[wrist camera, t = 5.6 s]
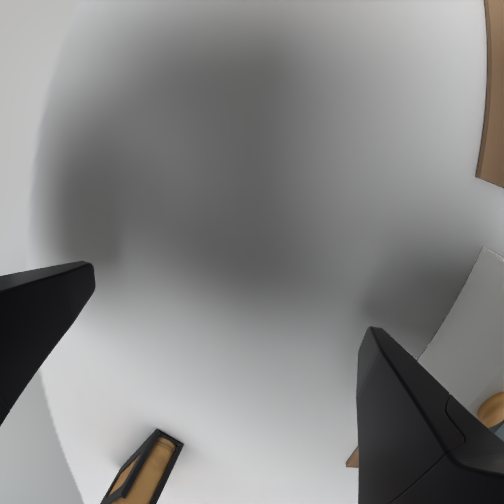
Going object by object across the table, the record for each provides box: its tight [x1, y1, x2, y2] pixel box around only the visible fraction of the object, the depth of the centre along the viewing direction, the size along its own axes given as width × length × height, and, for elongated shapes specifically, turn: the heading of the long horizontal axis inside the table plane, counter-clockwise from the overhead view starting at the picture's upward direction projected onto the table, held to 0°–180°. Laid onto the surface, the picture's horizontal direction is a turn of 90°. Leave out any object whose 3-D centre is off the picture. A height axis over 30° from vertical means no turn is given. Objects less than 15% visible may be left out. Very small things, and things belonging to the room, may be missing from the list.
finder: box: [417, 247, 504, 441], centre depth 8 cm, size 5×7×4 cm
